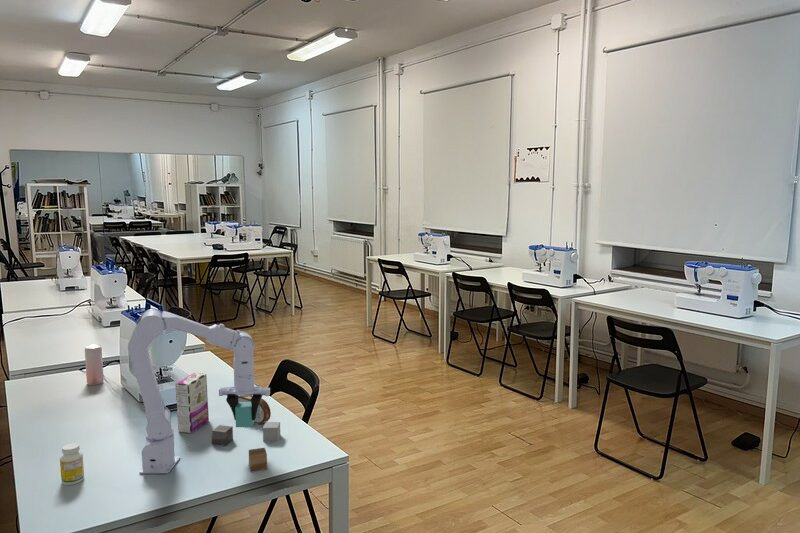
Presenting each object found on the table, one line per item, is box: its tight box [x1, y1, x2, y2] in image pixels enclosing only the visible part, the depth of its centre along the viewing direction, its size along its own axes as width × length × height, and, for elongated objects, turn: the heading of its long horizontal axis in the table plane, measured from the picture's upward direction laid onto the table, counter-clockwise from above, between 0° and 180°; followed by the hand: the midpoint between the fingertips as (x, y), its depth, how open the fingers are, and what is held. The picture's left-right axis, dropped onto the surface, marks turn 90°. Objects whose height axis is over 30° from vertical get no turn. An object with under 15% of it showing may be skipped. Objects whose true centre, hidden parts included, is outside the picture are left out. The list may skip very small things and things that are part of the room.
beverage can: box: [84, 344, 105, 386], centre depth 234 cm, size 6×6×15 cm
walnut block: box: [248, 447, 268, 473], centre depth 166 cm, size 4×4×4 cm
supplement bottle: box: [59, 442, 85, 486], centre depth 157 cm, size 5×5×10 cm
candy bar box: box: [175, 372, 210, 434], centre depth 193 cm, size 11×5×16 cm, turn 168°
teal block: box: [235, 402, 255, 428], centre depth 174 cm, size 4×4×6 cm
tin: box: [238, 395, 272, 425], centre depth 198 cm, size 15×3×8 cm, turn 57°
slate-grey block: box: [262, 421, 281, 442], centre depth 185 cm, size 4×4×4 cm
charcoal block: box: [211, 424, 234, 447], centre depth 182 cm, size 4×4×4 cm
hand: (245, 418), depth 174 cm, fingers closed on teal block, 4 cm apart
